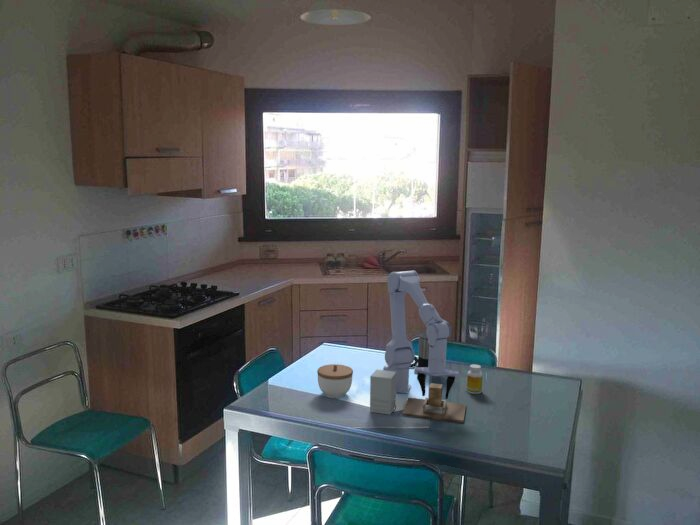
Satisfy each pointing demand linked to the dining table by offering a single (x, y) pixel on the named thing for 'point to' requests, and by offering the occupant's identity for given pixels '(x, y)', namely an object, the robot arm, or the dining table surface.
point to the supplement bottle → (474, 379)
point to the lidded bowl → (334, 380)
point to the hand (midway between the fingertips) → (435, 396)
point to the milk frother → (422, 351)
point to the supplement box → (383, 391)
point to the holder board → (434, 410)
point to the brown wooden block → (435, 395)
